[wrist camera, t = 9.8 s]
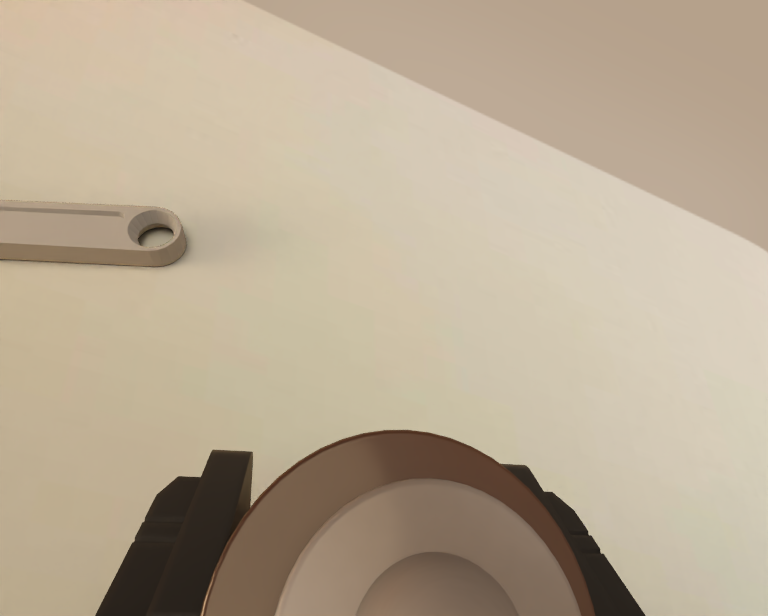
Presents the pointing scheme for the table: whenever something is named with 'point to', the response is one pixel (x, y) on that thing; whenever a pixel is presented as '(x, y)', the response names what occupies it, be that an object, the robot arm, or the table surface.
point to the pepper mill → (397, 538)
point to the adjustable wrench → (86, 233)
